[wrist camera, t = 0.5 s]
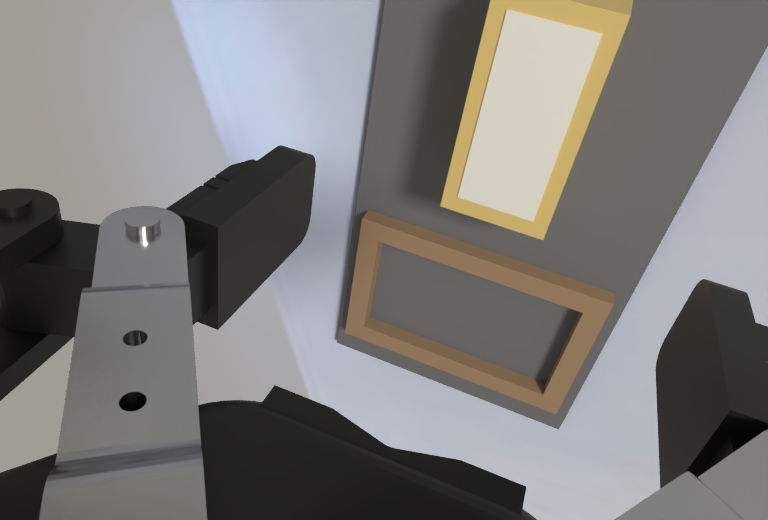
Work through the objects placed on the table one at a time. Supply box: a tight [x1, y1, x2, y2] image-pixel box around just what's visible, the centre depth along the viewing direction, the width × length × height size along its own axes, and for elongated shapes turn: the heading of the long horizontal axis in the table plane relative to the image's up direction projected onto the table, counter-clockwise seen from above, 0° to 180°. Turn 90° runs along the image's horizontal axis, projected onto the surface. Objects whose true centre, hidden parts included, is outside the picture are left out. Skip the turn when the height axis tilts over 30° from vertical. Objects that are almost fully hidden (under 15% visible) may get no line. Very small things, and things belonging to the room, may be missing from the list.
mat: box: [337, 0, 768, 429], centre depth 32 cm, size 28×16×2 cm, turn 172°
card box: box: [440, 0, 633, 240], centre depth 26 cm, size 10×5×4 cm, turn 172°
